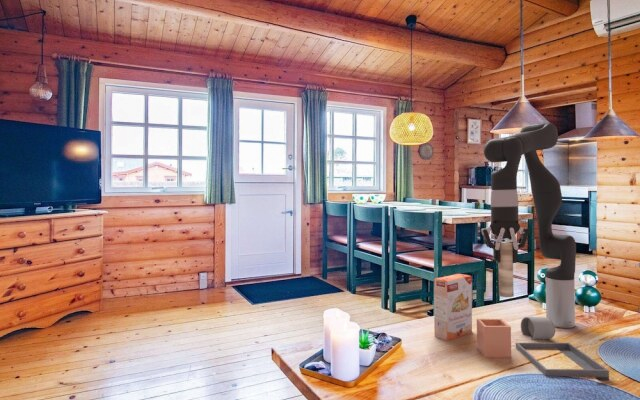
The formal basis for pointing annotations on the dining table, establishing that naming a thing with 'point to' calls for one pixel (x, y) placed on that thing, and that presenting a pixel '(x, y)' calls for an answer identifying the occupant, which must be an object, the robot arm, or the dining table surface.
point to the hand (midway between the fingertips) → (505, 261)
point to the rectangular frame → (571, 352)
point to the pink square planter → (494, 338)
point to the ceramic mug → (538, 327)
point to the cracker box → (452, 306)
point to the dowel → (506, 270)
